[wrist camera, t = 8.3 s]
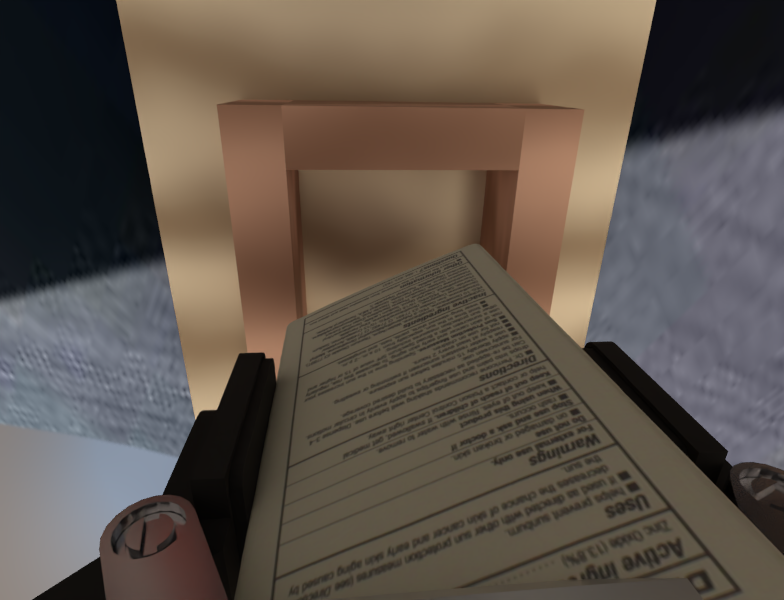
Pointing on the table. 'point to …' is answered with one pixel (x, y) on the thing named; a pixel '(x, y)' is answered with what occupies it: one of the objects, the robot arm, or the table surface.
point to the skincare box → (473, 456)
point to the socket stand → (375, 151)
